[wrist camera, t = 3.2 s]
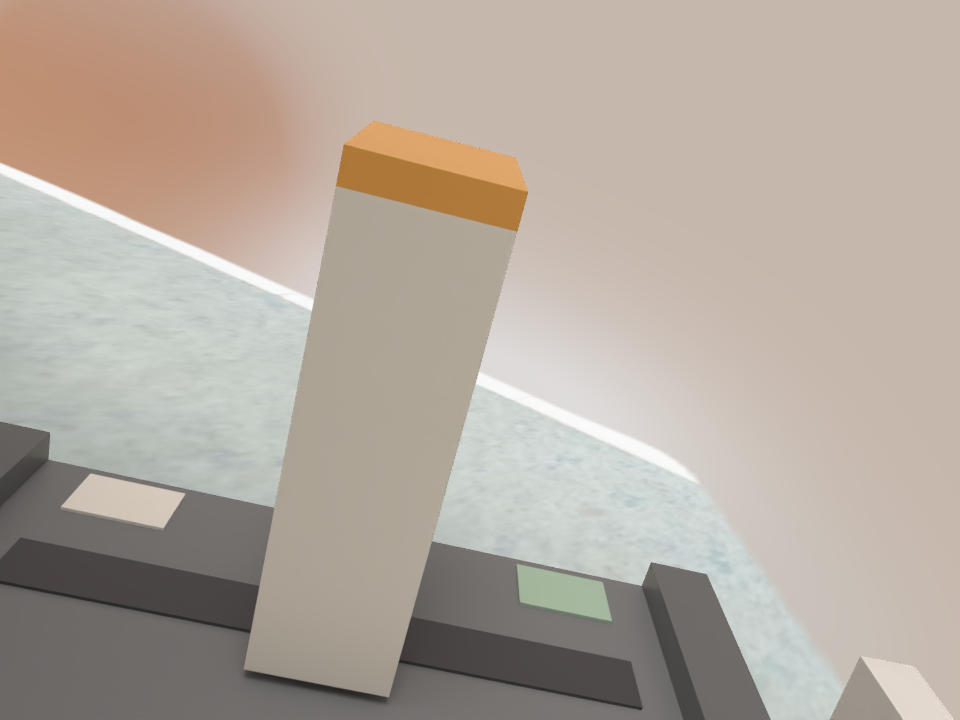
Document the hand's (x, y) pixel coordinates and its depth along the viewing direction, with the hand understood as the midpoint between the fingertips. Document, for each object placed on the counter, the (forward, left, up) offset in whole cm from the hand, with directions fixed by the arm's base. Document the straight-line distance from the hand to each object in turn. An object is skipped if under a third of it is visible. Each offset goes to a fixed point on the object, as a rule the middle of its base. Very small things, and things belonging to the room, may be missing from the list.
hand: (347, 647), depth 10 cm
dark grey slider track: (-8, +6, -10) cm, 14 cm away
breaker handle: (-8, +6, -8) cm, 13 cm away
